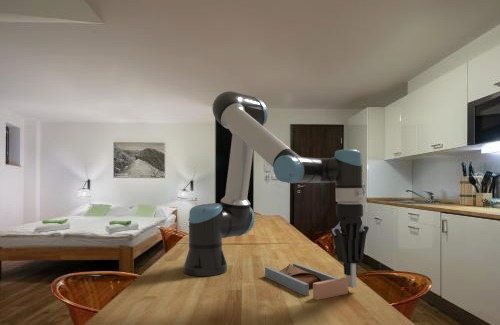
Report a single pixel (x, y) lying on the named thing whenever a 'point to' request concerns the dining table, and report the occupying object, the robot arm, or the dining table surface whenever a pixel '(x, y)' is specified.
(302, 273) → the sunglasses case
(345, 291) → the gate
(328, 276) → the channel
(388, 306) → the dining table surface
